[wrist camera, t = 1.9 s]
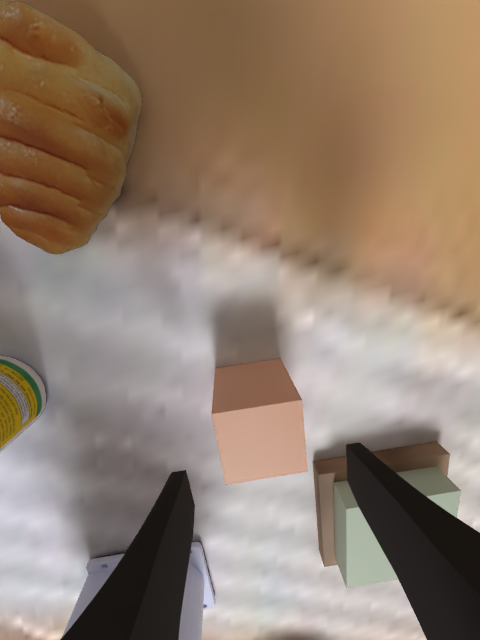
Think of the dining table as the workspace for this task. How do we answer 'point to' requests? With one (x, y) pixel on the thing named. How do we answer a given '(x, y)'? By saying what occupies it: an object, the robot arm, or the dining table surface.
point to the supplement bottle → (18, 398)
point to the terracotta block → (258, 422)
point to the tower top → (357, 537)
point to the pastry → (60, 130)
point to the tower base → (337, 471)
